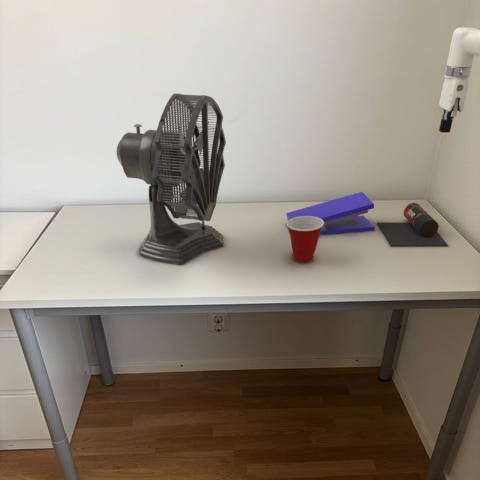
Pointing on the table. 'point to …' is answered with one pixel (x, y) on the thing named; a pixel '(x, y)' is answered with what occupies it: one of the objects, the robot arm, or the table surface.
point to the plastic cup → (304, 236)
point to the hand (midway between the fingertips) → (444, 131)
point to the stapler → (340, 214)
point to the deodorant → (421, 220)
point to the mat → (408, 235)
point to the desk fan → (178, 178)
